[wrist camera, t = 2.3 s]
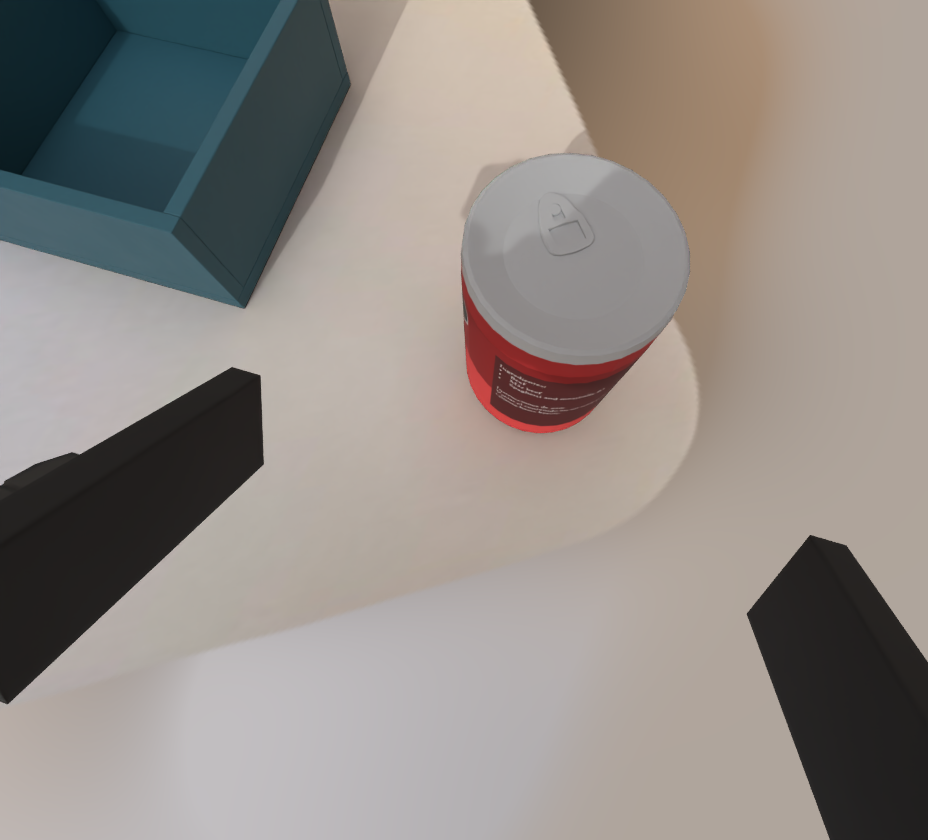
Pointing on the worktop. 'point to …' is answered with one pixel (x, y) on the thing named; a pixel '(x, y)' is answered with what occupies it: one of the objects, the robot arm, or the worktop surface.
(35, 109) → the cool box
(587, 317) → the canned food
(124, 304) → the worktop surface
